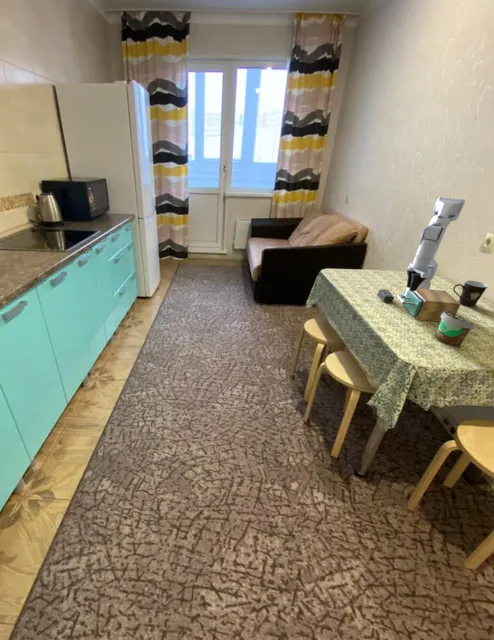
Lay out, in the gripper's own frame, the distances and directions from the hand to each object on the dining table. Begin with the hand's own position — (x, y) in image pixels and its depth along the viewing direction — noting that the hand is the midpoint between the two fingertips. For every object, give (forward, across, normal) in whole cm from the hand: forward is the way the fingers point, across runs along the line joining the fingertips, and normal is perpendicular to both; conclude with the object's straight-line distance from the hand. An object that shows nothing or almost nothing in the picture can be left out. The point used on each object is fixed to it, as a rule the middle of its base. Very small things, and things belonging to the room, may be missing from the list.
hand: (411, 289), depth 140 cm
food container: (+11, +24, +7) cm, 28 cm away
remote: (+10, -14, -4) cm, 18 cm away
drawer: (+9, 0, +6) cm, 11 cm away
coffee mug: (+11, -18, +33) cm, 39 cm away
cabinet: (+10, 0, +10) cm, 15 cm away
